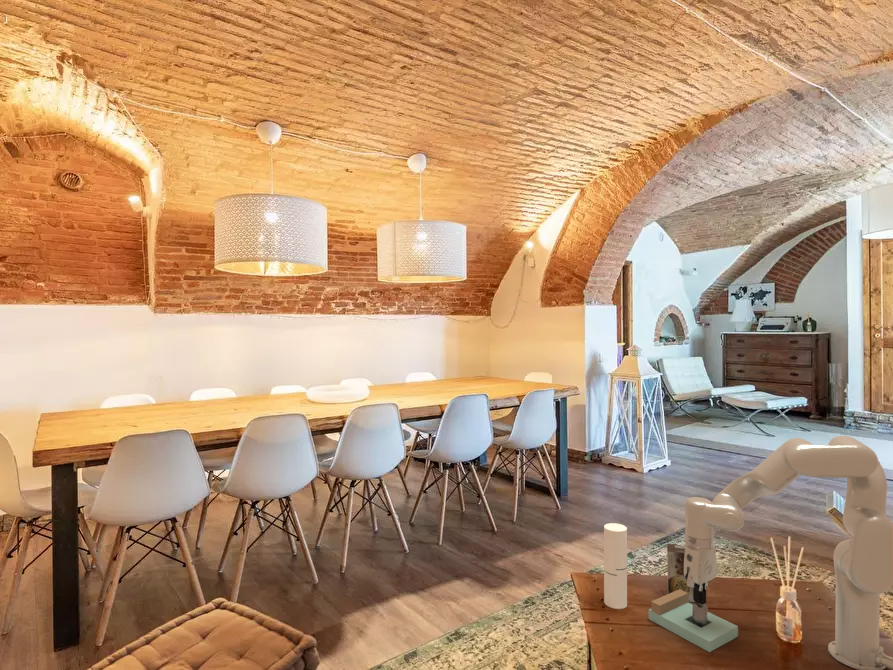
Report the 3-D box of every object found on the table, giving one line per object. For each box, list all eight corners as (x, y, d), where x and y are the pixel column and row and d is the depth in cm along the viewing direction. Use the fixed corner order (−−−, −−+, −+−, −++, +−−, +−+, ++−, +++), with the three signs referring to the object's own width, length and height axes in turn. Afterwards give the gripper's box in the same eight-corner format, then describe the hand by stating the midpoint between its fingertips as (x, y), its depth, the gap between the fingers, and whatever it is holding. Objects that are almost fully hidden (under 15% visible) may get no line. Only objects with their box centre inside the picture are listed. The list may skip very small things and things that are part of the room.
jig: (737, 636, 158) (738, 616, 158) (709, 652, 150) (709, 631, 150) (676, 606, 175) (676, 587, 175) (648, 619, 167) (648, 599, 167)
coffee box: (696, 594, 182) (696, 546, 182) (697, 603, 176) (697, 554, 176) (667, 589, 186) (667, 542, 185) (667, 598, 180) (667, 550, 179)
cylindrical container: (630, 608, 173) (629, 531, 173) (607, 608, 174) (607, 531, 173) (623, 597, 181) (623, 523, 180) (601, 597, 181) (601, 523, 180)
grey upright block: (710, 632, 160) (710, 606, 160) (702, 637, 158) (702, 610, 158) (697, 626, 163) (697, 600, 163) (689, 630, 161) (689, 604, 161)
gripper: (695, 551, 153) (696, 615, 154) (726, 539, 161) (726, 600, 161) (672, 542, 160) (672, 604, 160) (702, 531, 167) (702, 590, 168)
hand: (699, 602), depth 161 cm, fingers closed
